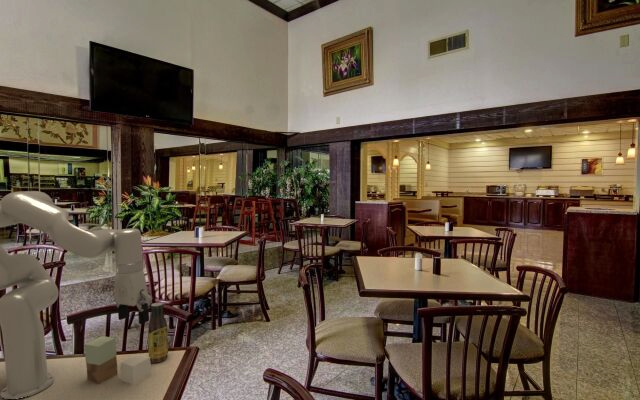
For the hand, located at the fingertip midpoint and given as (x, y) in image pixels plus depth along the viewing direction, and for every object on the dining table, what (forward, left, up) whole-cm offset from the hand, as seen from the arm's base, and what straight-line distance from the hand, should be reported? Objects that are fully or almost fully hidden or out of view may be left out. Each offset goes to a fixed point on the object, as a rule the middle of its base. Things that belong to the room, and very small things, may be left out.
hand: (133, 320), depth 108 cm
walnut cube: (-11, -4, -19) cm, 22 cm away
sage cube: (-11, -4, -13) cm, 18 cm away
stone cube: (0, 0, -19) cm, 19 cm away
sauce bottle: (-3, +11, -19) cm, 22 cm away
